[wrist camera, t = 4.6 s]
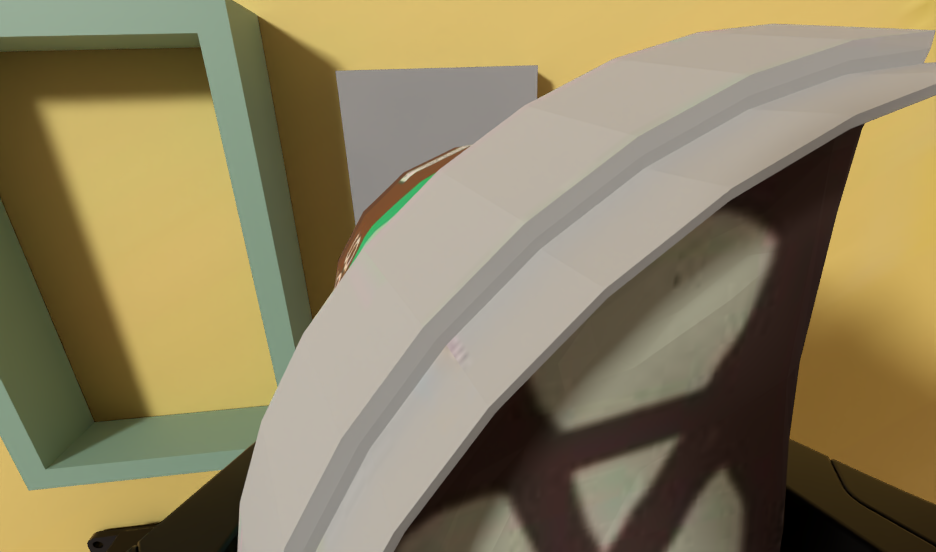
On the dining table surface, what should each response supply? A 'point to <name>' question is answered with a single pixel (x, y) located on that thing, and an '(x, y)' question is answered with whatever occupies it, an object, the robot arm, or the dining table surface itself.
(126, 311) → the dining table surface
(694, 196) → the food container
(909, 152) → the dining table surface
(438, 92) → the slate tile
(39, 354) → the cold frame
